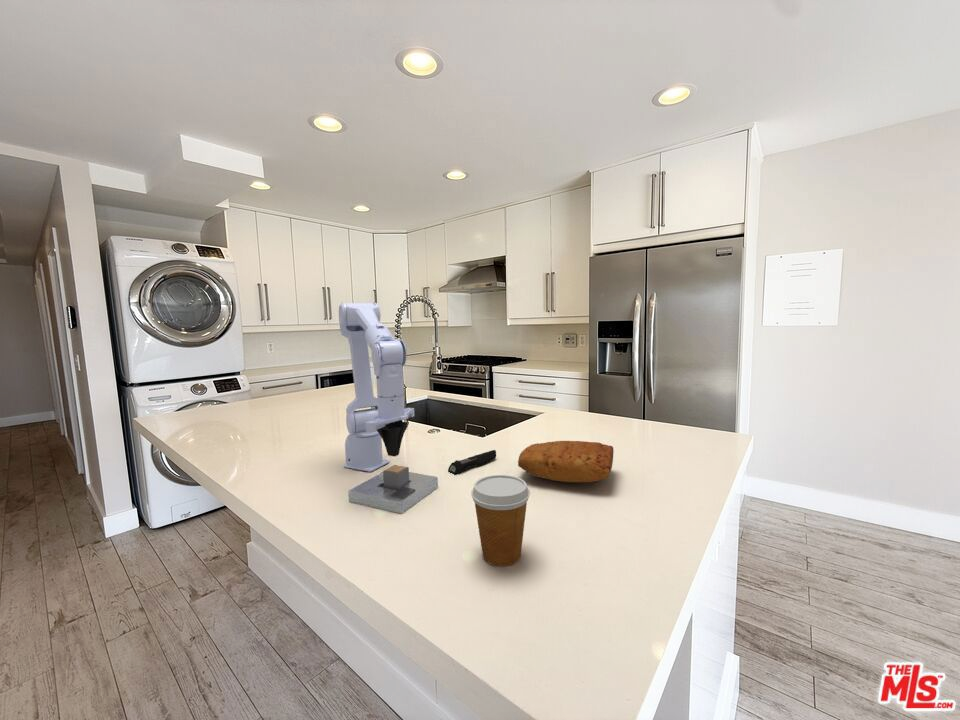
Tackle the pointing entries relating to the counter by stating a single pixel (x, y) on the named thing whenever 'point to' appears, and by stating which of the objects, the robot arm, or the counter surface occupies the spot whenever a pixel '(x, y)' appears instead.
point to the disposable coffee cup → (501, 517)
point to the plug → (396, 477)
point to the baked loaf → (568, 461)
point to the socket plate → (393, 492)
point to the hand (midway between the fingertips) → (393, 455)
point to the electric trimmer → (471, 462)
